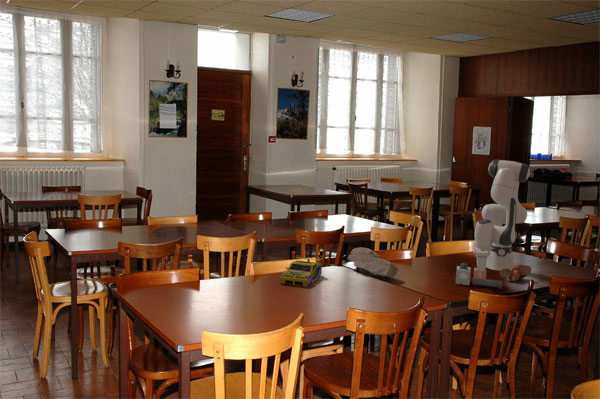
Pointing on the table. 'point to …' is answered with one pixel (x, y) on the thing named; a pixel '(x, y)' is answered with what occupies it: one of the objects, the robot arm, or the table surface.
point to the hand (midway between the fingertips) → (479, 275)
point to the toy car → (302, 272)
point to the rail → (490, 283)
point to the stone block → (372, 262)
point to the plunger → (463, 266)
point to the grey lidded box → (463, 276)
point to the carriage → (479, 279)
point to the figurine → (515, 272)
